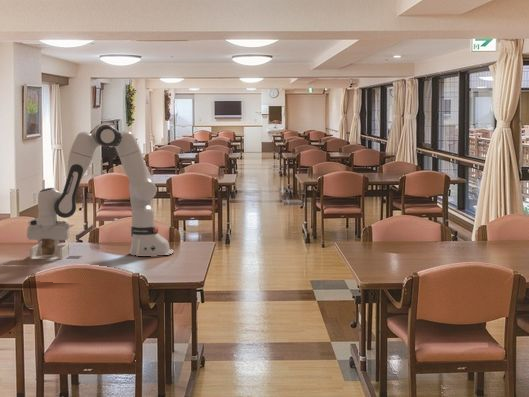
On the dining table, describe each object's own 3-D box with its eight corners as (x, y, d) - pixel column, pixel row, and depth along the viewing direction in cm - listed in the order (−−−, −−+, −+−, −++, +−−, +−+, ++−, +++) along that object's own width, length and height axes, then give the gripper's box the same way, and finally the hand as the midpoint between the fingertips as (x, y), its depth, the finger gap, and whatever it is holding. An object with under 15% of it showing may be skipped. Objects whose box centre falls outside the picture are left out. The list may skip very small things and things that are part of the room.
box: (69, 255, 370) (68, 244, 369) (62, 260, 359) (62, 249, 359) (37, 255, 371) (37, 244, 370) (30, 259, 360) (29, 248, 359)
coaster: (81, 257, 366) (81, 255, 366) (78, 259, 360) (78, 258, 360) (70, 256, 367) (70, 255, 367) (66, 259, 361) (66, 258, 361)
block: (55, 253, 366) (54, 237, 365) (52, 255, 361) (51, 239, 360) (45, 253, 366) (44, 237, 365) (42, 255, 361) (41, 239, 360)
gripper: (70, 220, 364) (71, 247, 366) (29, 219, 365) (30, 247, 367) (66, 222, 358) (67, 250, 360) (25, 221, 359) (26, 249, 360)
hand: (48, 248), depth 363 cm, fingers closed on block, 5 cm apart
